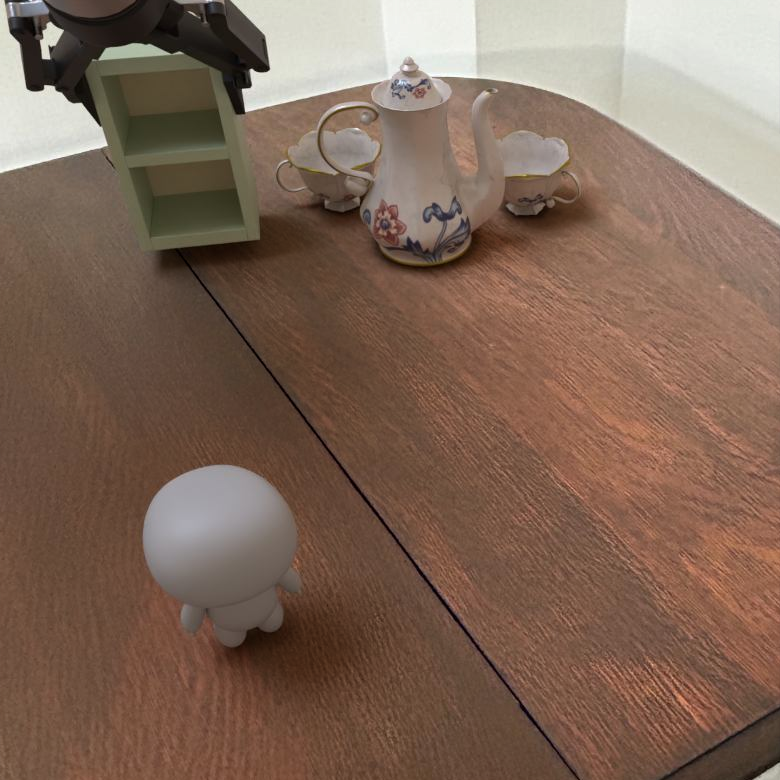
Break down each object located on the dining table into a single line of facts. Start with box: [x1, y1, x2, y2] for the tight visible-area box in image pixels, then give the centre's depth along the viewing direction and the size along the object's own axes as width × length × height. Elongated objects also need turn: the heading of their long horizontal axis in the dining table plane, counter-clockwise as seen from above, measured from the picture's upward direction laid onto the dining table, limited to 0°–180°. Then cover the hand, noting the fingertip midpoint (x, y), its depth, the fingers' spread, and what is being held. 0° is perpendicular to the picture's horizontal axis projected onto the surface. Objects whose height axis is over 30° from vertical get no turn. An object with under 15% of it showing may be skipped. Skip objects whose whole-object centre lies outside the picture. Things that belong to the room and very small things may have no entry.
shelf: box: [85, 12, 261, 252], centre depth 85 cm, size 16×10×8 cm
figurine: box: [142, 464, 302, 648], centre depth 58 cm, size 8×8×12 cm
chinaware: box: [275, 56, 582, 268], centre depth 89 cm, size 28×17×17 cm, turn 93°
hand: (171, 103), depth 83 cm, fingers closed on shelf, 10 cm apart
